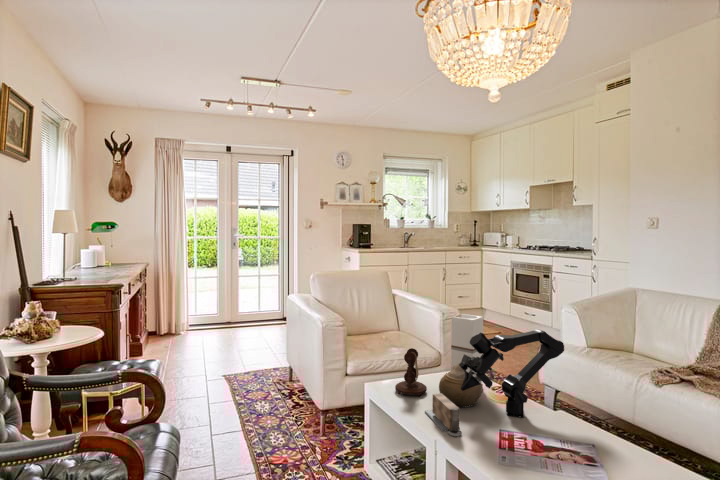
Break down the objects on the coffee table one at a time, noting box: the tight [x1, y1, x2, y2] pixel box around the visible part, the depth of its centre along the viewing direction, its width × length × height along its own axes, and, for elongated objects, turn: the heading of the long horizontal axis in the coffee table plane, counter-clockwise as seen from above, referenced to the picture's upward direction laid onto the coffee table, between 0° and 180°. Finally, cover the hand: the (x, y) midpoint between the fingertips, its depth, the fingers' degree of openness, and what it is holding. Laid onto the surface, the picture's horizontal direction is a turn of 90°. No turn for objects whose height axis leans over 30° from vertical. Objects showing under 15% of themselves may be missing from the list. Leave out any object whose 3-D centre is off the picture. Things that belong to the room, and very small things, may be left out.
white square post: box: [450, 313, 484, 389], centre depth 211 cm, size 11×11×35 cm
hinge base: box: [447, 429, 463, 438], centre depth 163 cm, size 5×5×1 cm
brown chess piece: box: [394, 348, 428, 398], centre depth 206 cm, size 15×15×20 cm
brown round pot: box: [438, 363, 483, 408], centre depth 194 cm, size 20×17×17 cm
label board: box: [424, 409, 461, 432], centre depth 175 cm, size 18×7×1 cm, turn 14°
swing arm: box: [431, 392, 460, 431], centre depth 171 cm, size 18×4×8 cm, turn 14°
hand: (461, 389), depth 176 cm, fingers closed
